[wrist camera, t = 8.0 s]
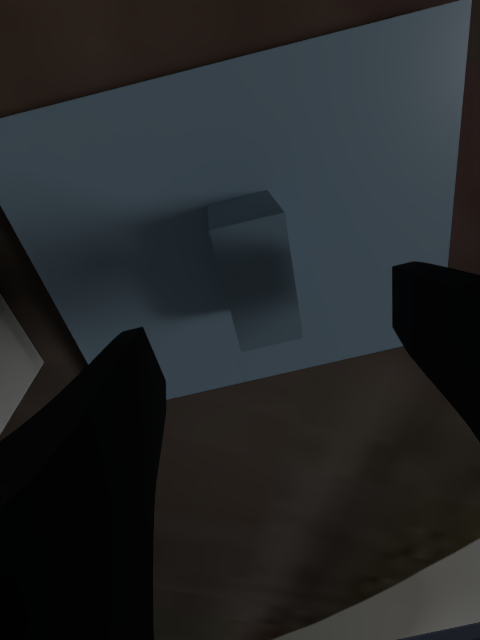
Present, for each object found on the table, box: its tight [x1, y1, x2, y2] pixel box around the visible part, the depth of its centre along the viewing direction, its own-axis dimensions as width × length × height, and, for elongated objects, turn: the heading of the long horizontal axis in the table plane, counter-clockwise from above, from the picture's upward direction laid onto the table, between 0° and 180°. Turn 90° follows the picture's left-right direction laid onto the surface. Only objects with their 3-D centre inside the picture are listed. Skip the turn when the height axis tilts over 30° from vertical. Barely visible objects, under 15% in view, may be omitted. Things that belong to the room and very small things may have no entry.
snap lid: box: [0, 0, 472, 400], centre depth 15 cm, size 14×18×6 cm
